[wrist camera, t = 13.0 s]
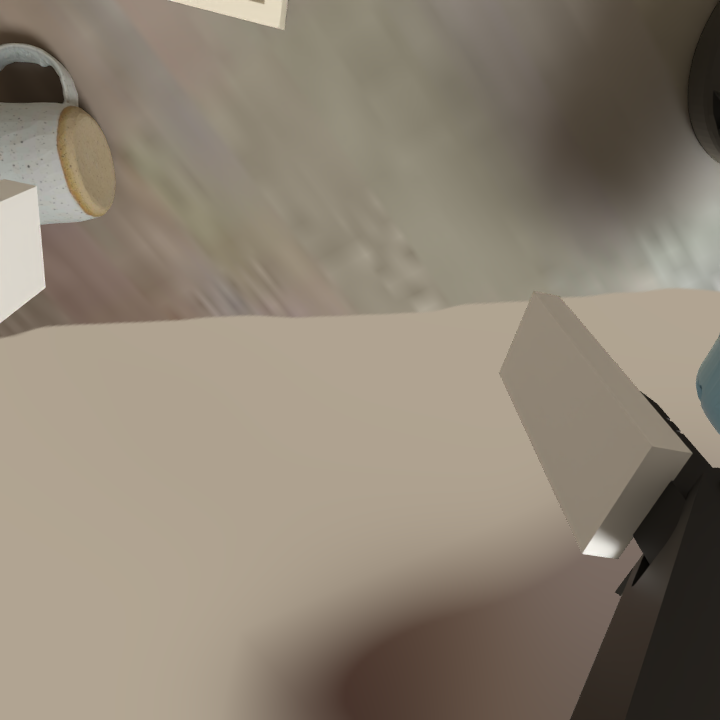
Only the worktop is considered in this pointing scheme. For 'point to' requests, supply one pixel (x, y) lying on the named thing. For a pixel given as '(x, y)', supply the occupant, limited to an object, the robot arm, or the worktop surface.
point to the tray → (246, 10)
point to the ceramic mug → (55, 148)
